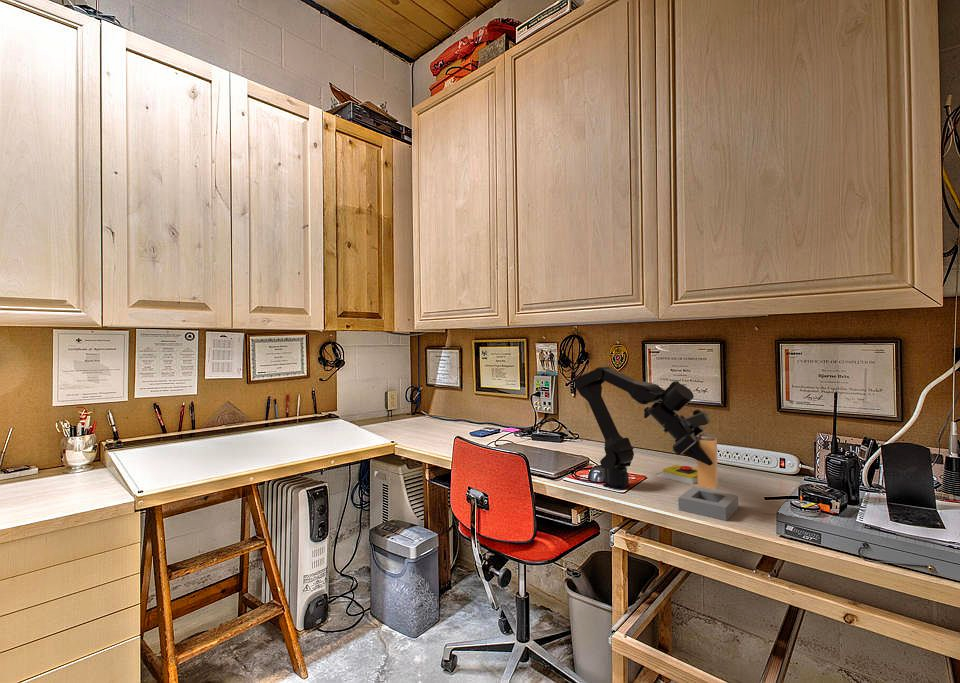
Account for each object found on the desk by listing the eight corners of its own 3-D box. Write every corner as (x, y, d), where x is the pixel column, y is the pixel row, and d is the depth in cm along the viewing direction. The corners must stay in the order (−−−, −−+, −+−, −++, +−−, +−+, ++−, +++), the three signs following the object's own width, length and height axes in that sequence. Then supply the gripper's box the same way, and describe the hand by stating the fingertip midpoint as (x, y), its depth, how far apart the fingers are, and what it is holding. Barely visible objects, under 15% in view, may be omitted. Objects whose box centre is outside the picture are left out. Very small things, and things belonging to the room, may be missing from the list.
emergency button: (697, 474, 145) (655, 464, 157) (698, 487, 145) (655, 477, 157) (712, 468, 151) (670, 459, 163) (712, 481, 151) (670, 472, 163)
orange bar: (697, 486, 126) (696, 436, 125) (700, 481, 129) (699, 433, 129) (716, 489, 123) (714, 437, 123) (717, 484, 127) (716, 434, 127)
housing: (678, 510, 126) (678, 497, 126) (693, 498, 135) (693, 486, 135) (725, 521, 118) (725, 507, 118) (738, 507, 126) (738, 495, 126)
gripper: (684, 405, 120) (732, 451, 114) (695, 397, 136) (738, 437, 130) (654, 432, 125) (699, 478, 119) (668, 421, 140) (708, 461, 134)
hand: (712, 462), depth 125 cm, fingers closed on orange bar, 4 cm apart
